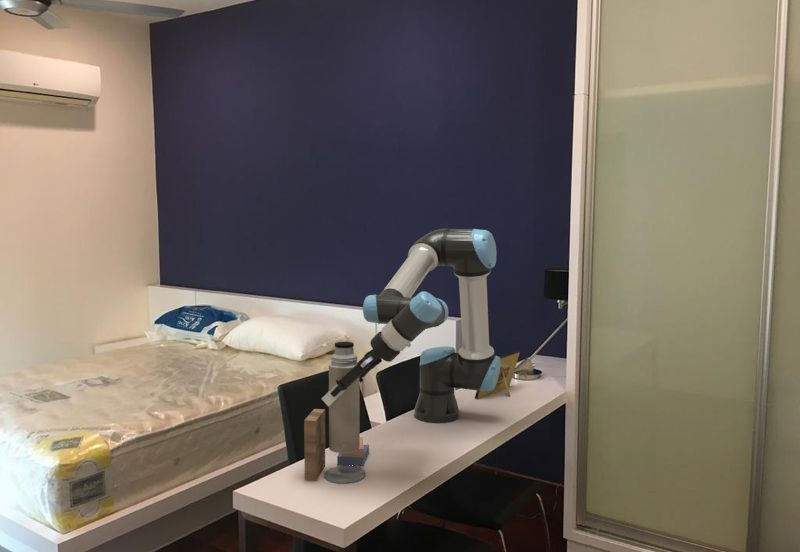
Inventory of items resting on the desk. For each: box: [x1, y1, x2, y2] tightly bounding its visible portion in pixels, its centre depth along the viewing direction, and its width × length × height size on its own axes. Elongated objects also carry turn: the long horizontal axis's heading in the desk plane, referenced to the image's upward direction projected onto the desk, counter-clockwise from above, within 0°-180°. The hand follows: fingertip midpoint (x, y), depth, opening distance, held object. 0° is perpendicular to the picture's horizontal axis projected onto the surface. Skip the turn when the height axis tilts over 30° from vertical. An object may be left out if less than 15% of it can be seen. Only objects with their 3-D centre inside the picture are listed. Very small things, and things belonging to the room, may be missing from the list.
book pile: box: [336, 437, 370, 467], centre depth 192 cm, size 10×8×5 cm
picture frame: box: [474, 350, 521, 400], centre depth 257 cm, size 23×9×15 cm, turn 141°
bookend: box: [303, 408, 326, 482], centre depth 181 cm, size 10×3×16 cm, turn 172°
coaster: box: [323, 465, 367, 485], centre depth 181 cm, size 11×11×1 cm
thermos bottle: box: [328, 341, 361, 454], centre depth 178 cm, size 8×8×28 cm
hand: (332, 397), depth 179 cm, fingers closed on thermos bottle, 8 cm apart
